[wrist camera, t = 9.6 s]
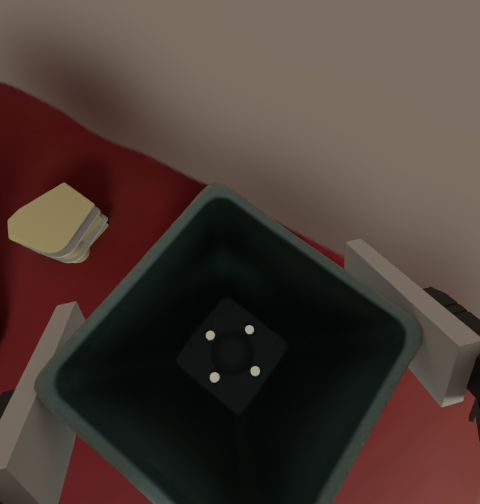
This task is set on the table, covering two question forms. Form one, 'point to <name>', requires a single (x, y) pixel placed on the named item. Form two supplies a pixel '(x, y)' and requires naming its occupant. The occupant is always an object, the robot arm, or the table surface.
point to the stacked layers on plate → (58, 225)
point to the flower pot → (232, 364)
